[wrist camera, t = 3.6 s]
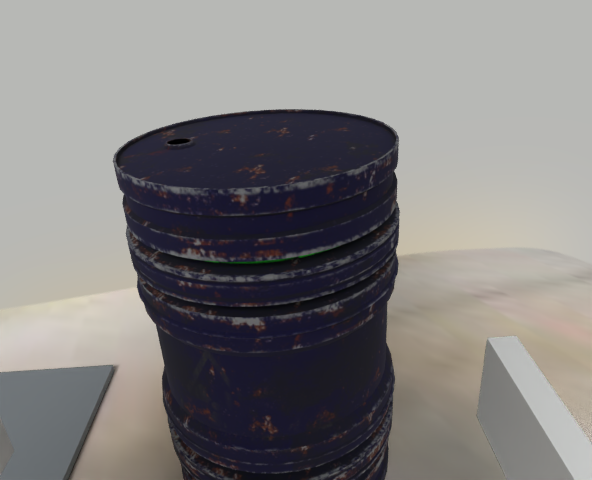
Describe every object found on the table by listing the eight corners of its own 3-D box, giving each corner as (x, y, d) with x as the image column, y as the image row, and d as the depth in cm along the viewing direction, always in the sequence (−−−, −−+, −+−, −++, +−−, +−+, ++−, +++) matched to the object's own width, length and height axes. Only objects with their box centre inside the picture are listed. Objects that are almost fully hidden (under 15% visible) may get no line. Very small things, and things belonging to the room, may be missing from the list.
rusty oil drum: (390, 383, 28) (399, 106, 21) (394, 564, 19) (411, 191, 13) (214, 372, 29) (172, 111, 23) (144, 535, 21) (44, 190, 14)
